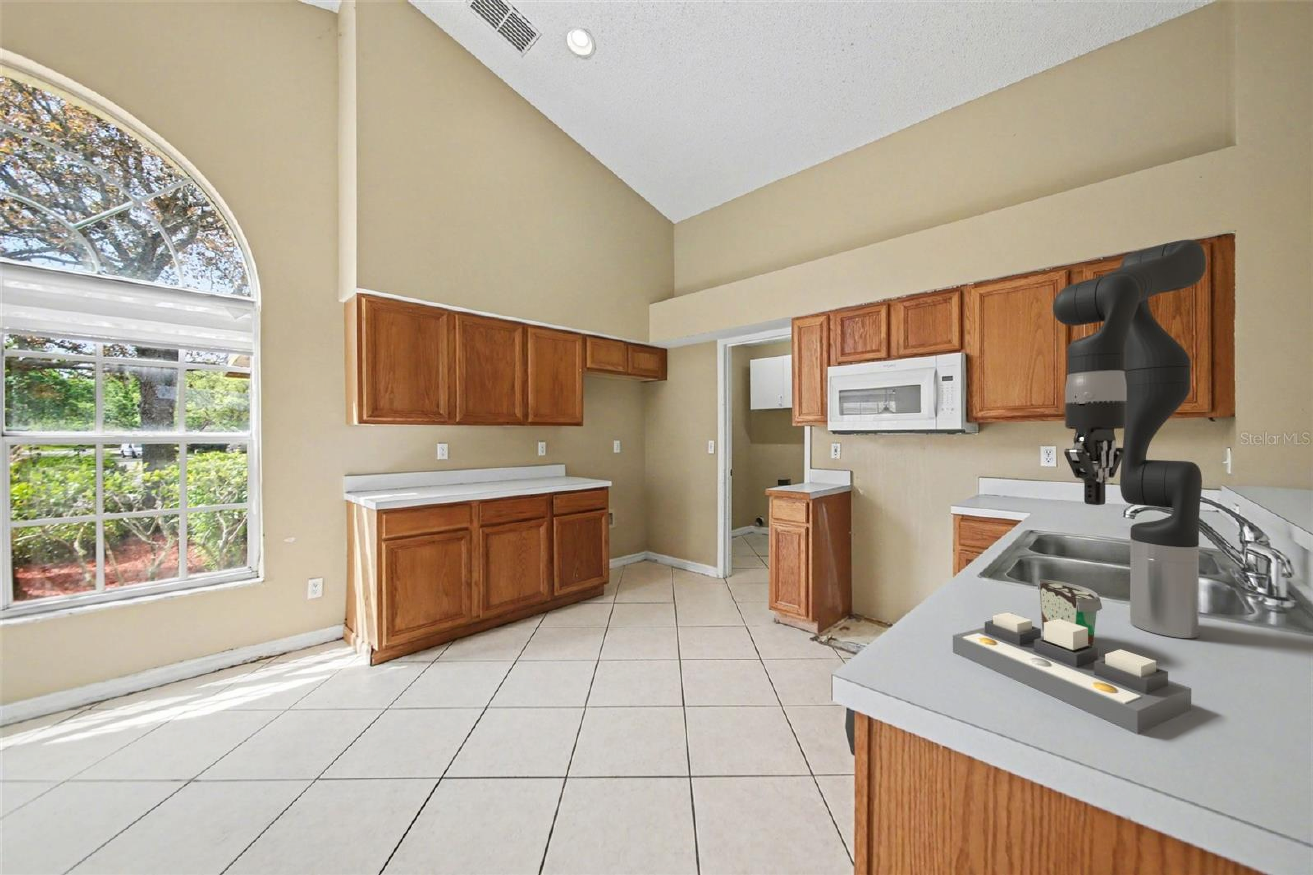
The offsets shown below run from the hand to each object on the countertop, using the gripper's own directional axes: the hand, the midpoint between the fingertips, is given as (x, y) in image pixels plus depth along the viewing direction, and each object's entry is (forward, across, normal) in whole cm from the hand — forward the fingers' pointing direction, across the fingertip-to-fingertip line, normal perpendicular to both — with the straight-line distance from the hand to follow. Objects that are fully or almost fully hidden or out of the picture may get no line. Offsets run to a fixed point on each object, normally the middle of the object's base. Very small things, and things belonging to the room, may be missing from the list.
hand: (1094, 504), depth 79 cm
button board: (+27, +10, 0) cm, 29 cm away
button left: (+24, +8, -8) cm, 26 cm away
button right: (+23, +8, +8) cm, 26 cm away
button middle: (+22, +8, 0) cm, 23 cm away
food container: (+27, -7, -6) cm, 29 cm away
